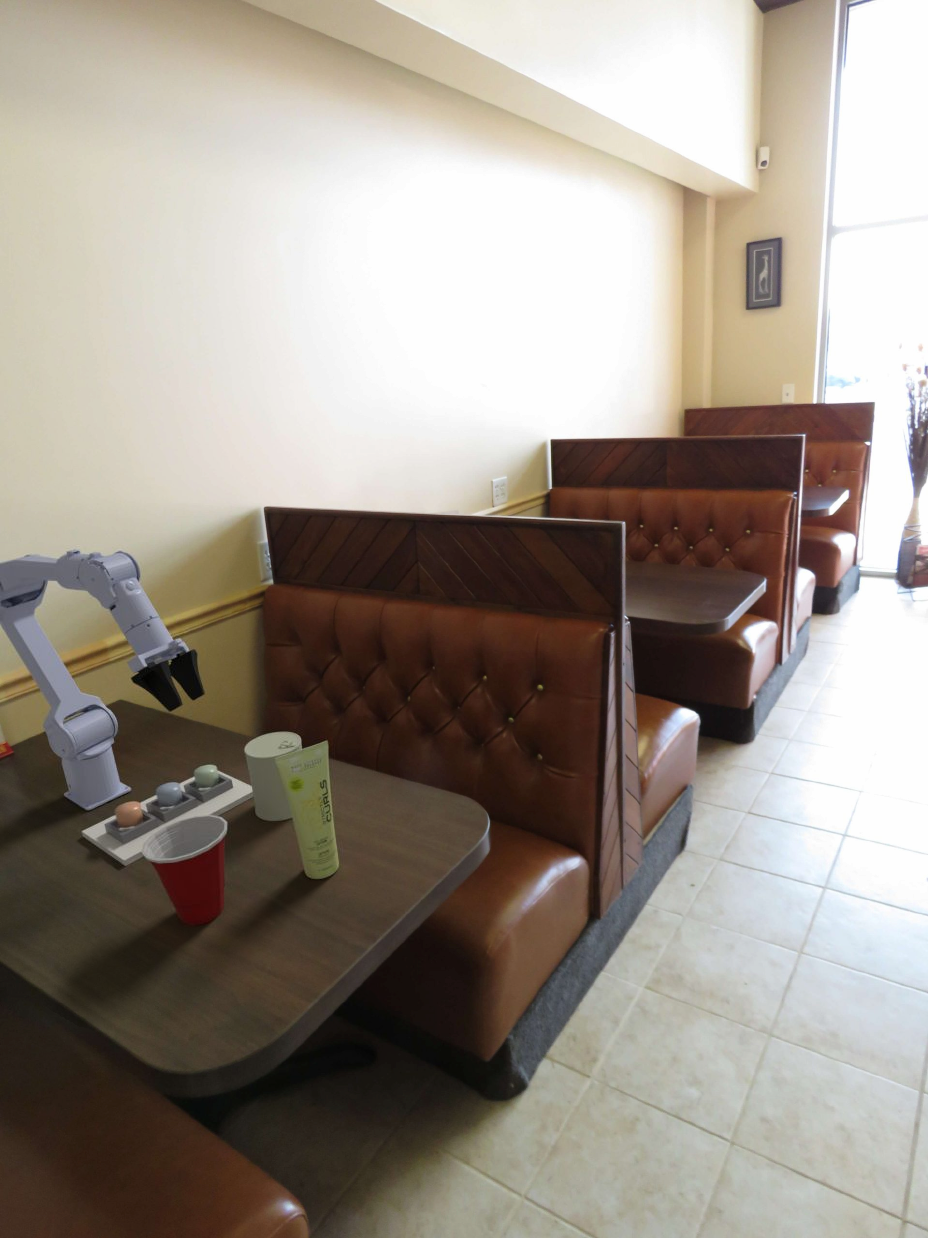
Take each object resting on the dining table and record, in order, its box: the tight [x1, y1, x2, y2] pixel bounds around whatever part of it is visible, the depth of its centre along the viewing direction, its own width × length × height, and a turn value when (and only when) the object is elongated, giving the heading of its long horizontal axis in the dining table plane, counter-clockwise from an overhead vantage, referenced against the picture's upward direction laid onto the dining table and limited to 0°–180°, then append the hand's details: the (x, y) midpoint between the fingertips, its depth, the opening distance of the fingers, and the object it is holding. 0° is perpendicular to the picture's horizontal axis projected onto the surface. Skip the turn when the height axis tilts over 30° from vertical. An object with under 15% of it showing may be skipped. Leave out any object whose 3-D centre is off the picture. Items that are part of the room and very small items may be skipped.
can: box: [243, 731, 303, 822], centre depth 123 cm, size 9×9×12 cm
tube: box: [275, 740, 340, 880], centre depth 104 cm, size 6×5×20 cm
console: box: [81, 769, 254, 867], centre depth 125 cm, size 14×24×3 cm, turn 141°
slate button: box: [155, 781, 183, 807], centre depth 124 cm, size 4×4×2 cm
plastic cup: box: [141, 815, 228, 926], centre depth 99 cm, size 11×11×12 cm
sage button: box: [193, 764, 219, 788], centre depth 129 cm, size 4×4×2 cm
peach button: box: [114, 800, 143, 828], centre depth 119 cm, size 4×4×2 cm
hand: (188, 702), depth 115 cm, fingers open, 7 cm apart
